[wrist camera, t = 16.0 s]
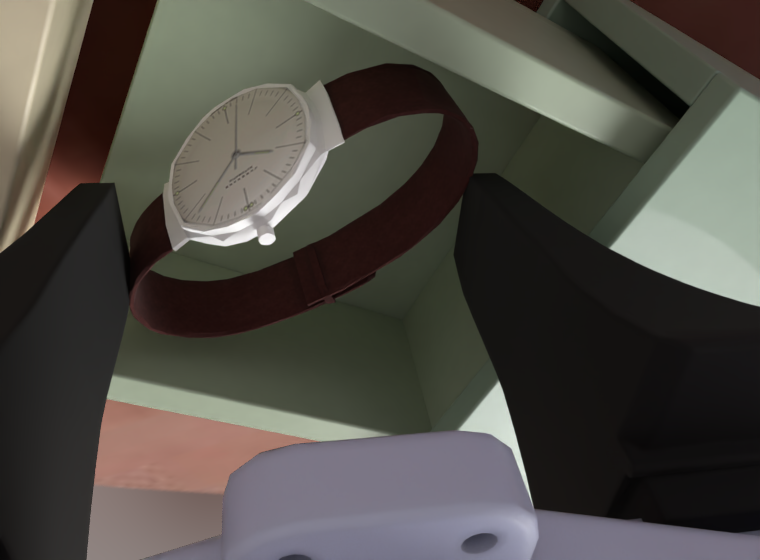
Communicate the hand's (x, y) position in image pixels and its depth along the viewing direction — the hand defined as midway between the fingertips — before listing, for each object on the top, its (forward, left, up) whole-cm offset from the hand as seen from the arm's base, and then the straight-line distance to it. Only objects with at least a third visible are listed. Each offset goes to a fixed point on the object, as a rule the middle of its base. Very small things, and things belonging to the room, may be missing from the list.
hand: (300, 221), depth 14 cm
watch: (0, 0, -2) cm, 2 cm away
